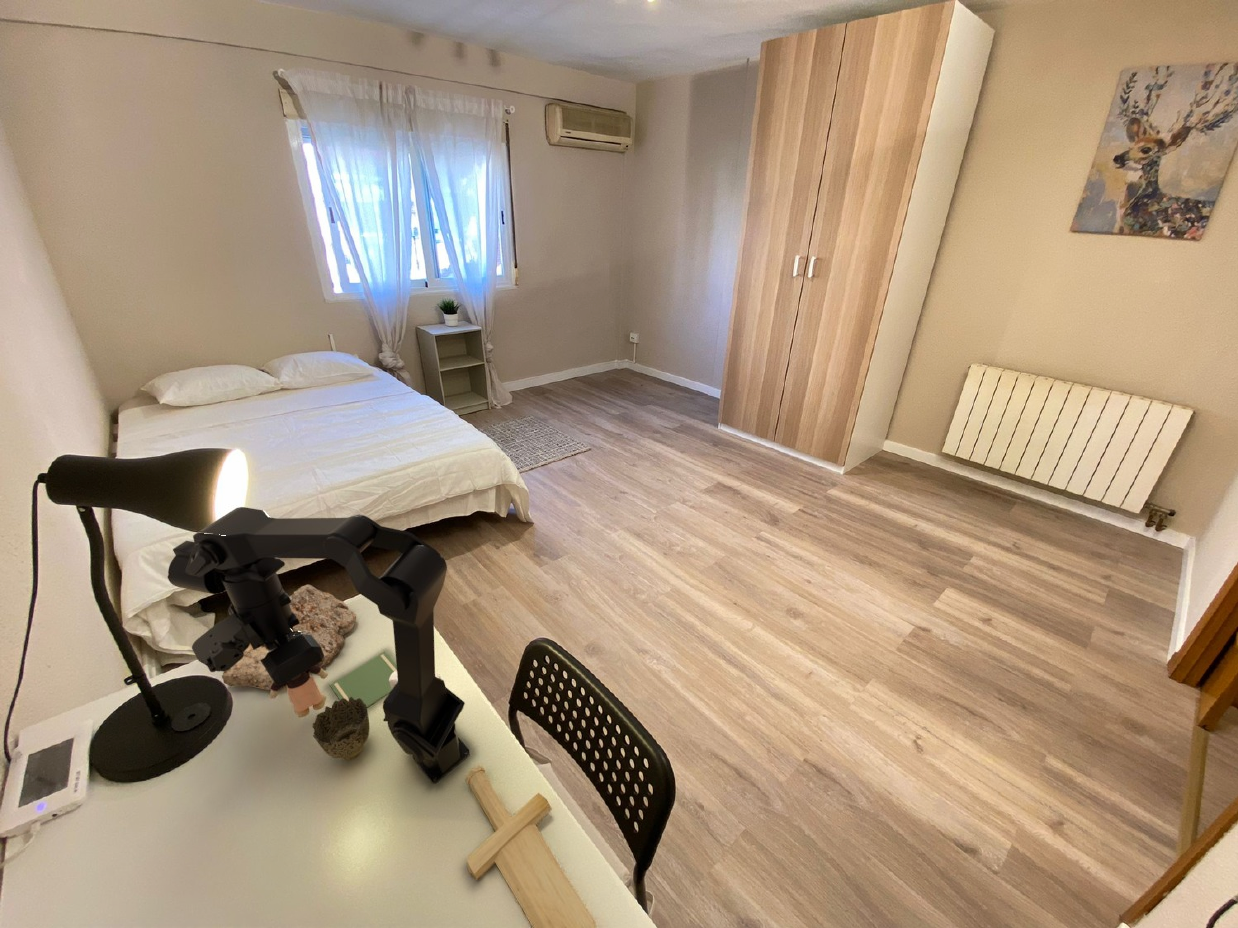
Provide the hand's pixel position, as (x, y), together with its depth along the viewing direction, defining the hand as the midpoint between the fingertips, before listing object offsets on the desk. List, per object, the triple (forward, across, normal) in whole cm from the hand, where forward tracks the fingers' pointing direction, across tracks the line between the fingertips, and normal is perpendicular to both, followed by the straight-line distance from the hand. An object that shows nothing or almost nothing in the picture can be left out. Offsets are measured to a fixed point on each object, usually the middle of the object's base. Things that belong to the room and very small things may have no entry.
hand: (291, 670), depth 77 cm
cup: (+13, +9, +2) cm, 16 cm away
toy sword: (+11, +27, +12) cm, 32 cm away
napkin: (+13, -1, +10) cm, 16 cm away
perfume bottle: (+13, +11, +13) cm, 22 cm away
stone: (+8, -24, +2) cm, 25 cm away
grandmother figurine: (+9, 0, 0) cm, 9 cm away
